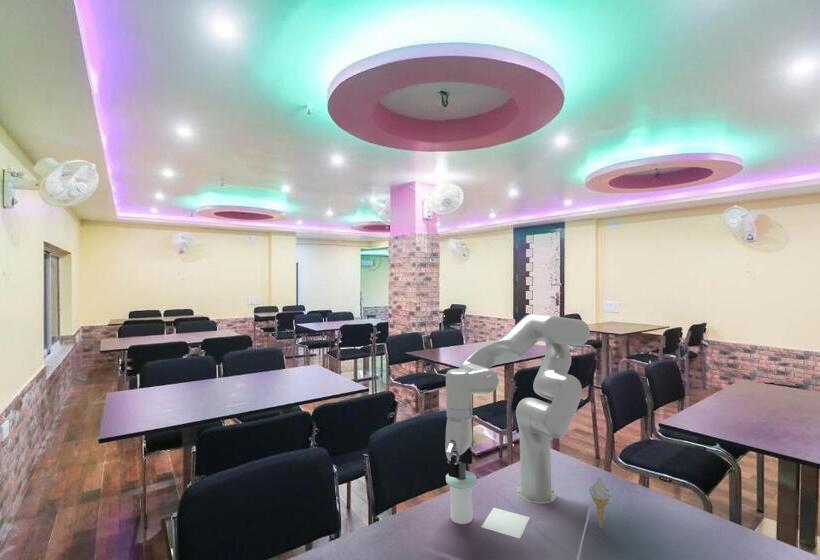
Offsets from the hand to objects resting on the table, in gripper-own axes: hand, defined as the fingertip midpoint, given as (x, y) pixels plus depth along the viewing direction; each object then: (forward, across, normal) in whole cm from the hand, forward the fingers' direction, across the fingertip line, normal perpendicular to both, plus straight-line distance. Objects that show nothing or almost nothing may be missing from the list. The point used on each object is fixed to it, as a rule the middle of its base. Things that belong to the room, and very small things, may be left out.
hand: (460, 469), depth 120 cm
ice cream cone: (+15, -15, +36) cm, 42 cm away
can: (+15, 0, 0) cm, 15 cm away
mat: (+15, -4, +12) cm, 20 cm away
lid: (+3, 0, 0) cm, 3 cm away
